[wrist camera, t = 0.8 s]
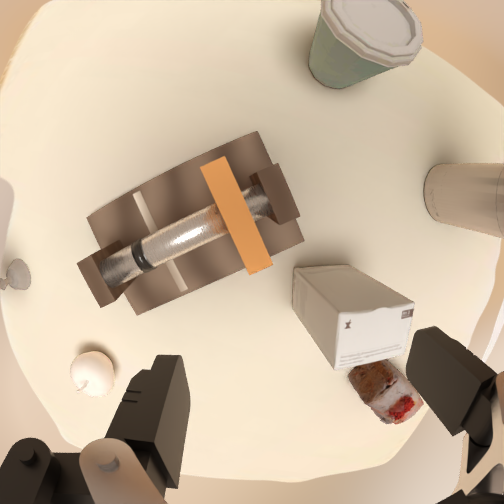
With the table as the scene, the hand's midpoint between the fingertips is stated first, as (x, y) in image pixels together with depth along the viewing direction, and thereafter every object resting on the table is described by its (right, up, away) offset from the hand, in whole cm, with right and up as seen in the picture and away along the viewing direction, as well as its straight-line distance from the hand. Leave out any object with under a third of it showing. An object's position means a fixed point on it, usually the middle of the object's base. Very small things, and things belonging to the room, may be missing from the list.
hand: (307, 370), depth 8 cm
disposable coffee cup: (+8, +28, +21) cm, 36 cm away
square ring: (-4, +8, +21) cm, 23 cm away
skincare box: (+8, -1, +28) cm, 29 cm away
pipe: (-8, +5, +18) cm, 21 cm away
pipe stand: (-9, +7, +24) cm, 27 cm away
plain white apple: (-25, -13, +28) cm, 40 cm away
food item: (+20, -18, +33) cm, 43 cm away
